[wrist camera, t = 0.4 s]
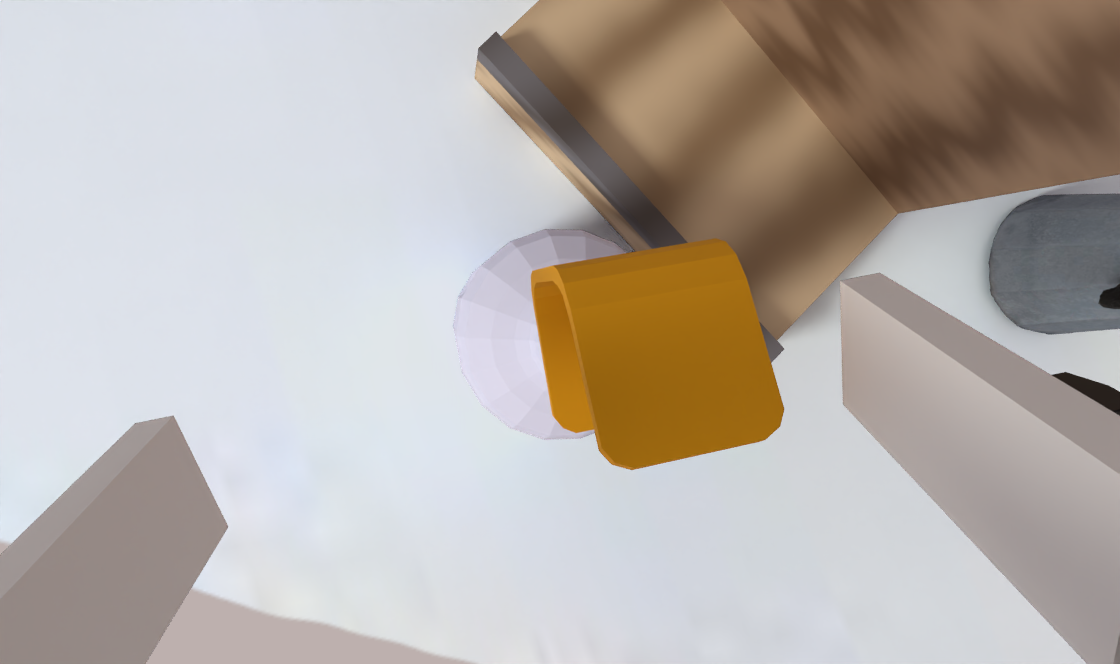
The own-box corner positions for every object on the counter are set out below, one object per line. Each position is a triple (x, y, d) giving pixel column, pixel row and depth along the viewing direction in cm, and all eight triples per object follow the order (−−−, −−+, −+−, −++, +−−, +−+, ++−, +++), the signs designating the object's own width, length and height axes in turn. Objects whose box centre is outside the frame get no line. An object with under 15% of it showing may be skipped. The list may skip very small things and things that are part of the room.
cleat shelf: (474, 78, 36) (597, -865, 7) (643, -83, 37) (1389, -1502, 8) (733, 356, 40) (1558, 537, 10) (881, 202, 41) (2010, -35, 11)
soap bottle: (469, 417, 37) (513, 646, 13) (440, 258, 37) (430, 189, 12) (621, 387, 39) (911, 542, 15) (596, 233, 38) (859, 128, 14)
